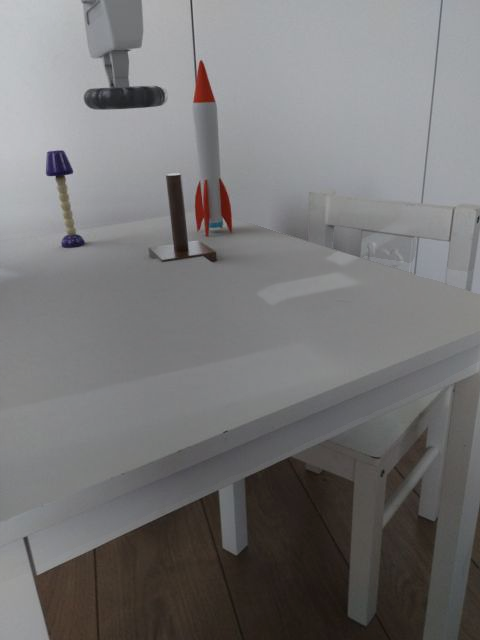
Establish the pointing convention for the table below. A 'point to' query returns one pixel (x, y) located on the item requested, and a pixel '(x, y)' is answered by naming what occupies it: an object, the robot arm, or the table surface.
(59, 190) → the toy lamp
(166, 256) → the stand
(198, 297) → the table surface
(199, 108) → the toy rocket
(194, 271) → the table surface
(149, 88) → the ring
